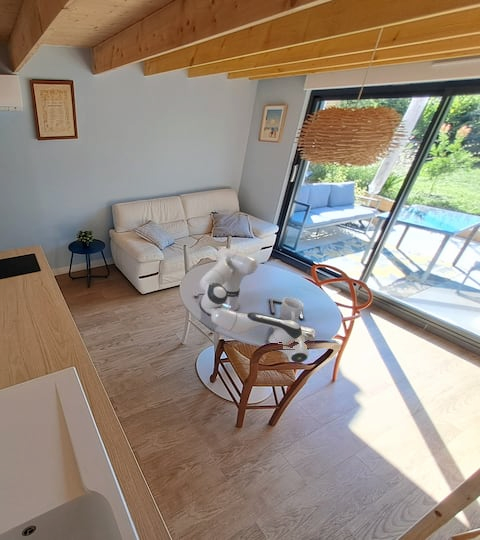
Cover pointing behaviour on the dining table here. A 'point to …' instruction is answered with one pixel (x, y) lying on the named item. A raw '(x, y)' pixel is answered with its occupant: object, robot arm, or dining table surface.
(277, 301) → the bay rails
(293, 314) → the mug
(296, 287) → the dining table surface
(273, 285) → the dining table surface
